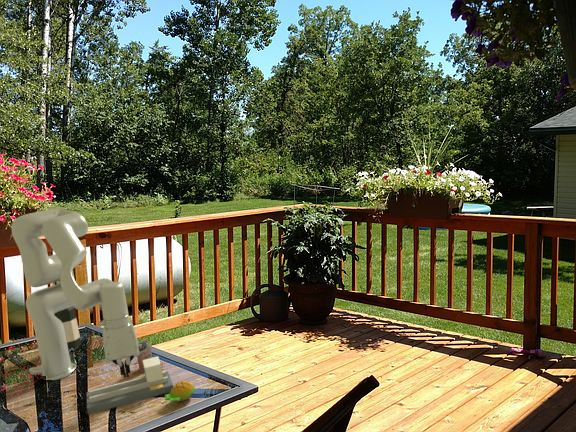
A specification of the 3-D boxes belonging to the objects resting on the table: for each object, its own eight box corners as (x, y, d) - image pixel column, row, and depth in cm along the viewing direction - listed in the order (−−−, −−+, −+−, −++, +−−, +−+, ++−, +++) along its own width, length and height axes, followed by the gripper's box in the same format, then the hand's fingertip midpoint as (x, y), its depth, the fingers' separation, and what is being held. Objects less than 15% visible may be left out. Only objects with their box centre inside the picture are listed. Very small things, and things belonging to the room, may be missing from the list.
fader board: (88, 414, 165) (86, 403, 165) (87, 397, 177) (85, 387, 176) (174, 390, 174) (172, 380, 173) (168, 376, 185) (167, 366, 184)
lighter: (146, 373, 190) (141, 345, 188) (137, 373, 191) (132, 346, 189) (156, 362, 198) (151, 336, 196) (147, 363, 199) (142, 337, 197)
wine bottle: (64, 346, 227) (50, 276, 222) (84, 343, 227) (71, 273, 223) (57, 354, 219) (43, 282, 214) (79, 350, 219) (64, 278, 214)
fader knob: (148, 387, 173) (144, 368, 172) (145, 378, 180) (142, 360, 179) (164, 383, 175) (160, 364, 174) (161, 374, 182) (158, 356, 180)
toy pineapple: (200, 395, 169) (198, 378, 168) (177, 411, 161) (174, 394, 160) (185, 391, 173) (182, 375, 172) (161, 406, 165) (158, 390, 164)
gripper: (92, 330, 166) (102, 386, 169) (142, 320, 171) (151, 374, 174) (91, 323, 173) (101, 377, 176) (140, 313, 178) (148, 365, 181)
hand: (126, 375), depth 175 cm, fingers closed
